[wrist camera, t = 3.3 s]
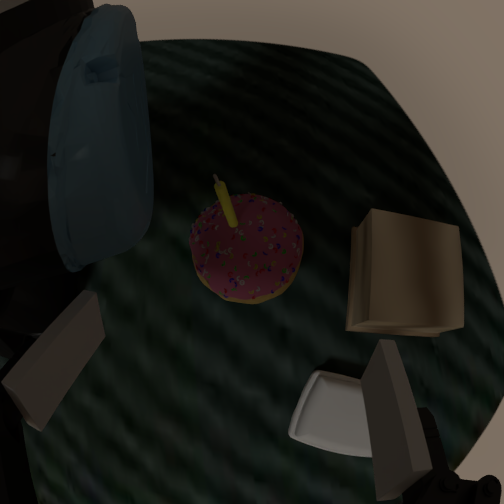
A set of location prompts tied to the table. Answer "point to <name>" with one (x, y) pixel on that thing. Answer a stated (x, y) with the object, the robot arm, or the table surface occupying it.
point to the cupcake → (246, 246)
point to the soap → (332, 415)
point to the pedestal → (405, 276)
